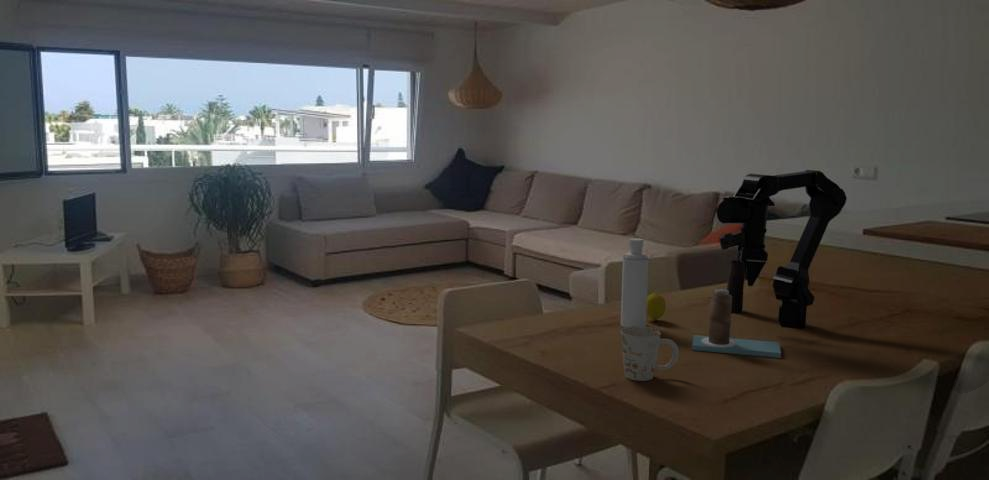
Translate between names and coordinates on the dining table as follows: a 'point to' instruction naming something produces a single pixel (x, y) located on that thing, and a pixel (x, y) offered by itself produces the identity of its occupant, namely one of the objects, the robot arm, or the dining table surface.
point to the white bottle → (634, 285)
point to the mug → (643, 352)
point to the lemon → (655, 306)
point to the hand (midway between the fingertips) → (748, 282)
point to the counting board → (738, 347)
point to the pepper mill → (720, 317)
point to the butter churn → (736, 284)
